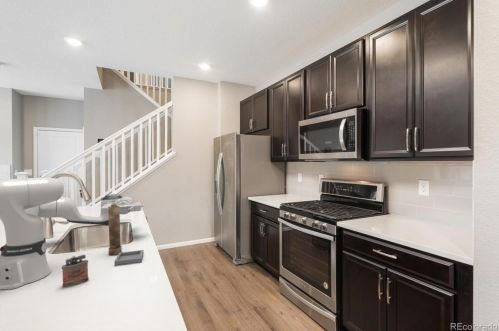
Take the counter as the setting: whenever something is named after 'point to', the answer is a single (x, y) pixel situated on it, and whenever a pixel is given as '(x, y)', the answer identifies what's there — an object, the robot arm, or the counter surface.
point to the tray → (129, 257)
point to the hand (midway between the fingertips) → (119, 211)
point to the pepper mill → (114, 230)
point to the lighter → (75, 271)
